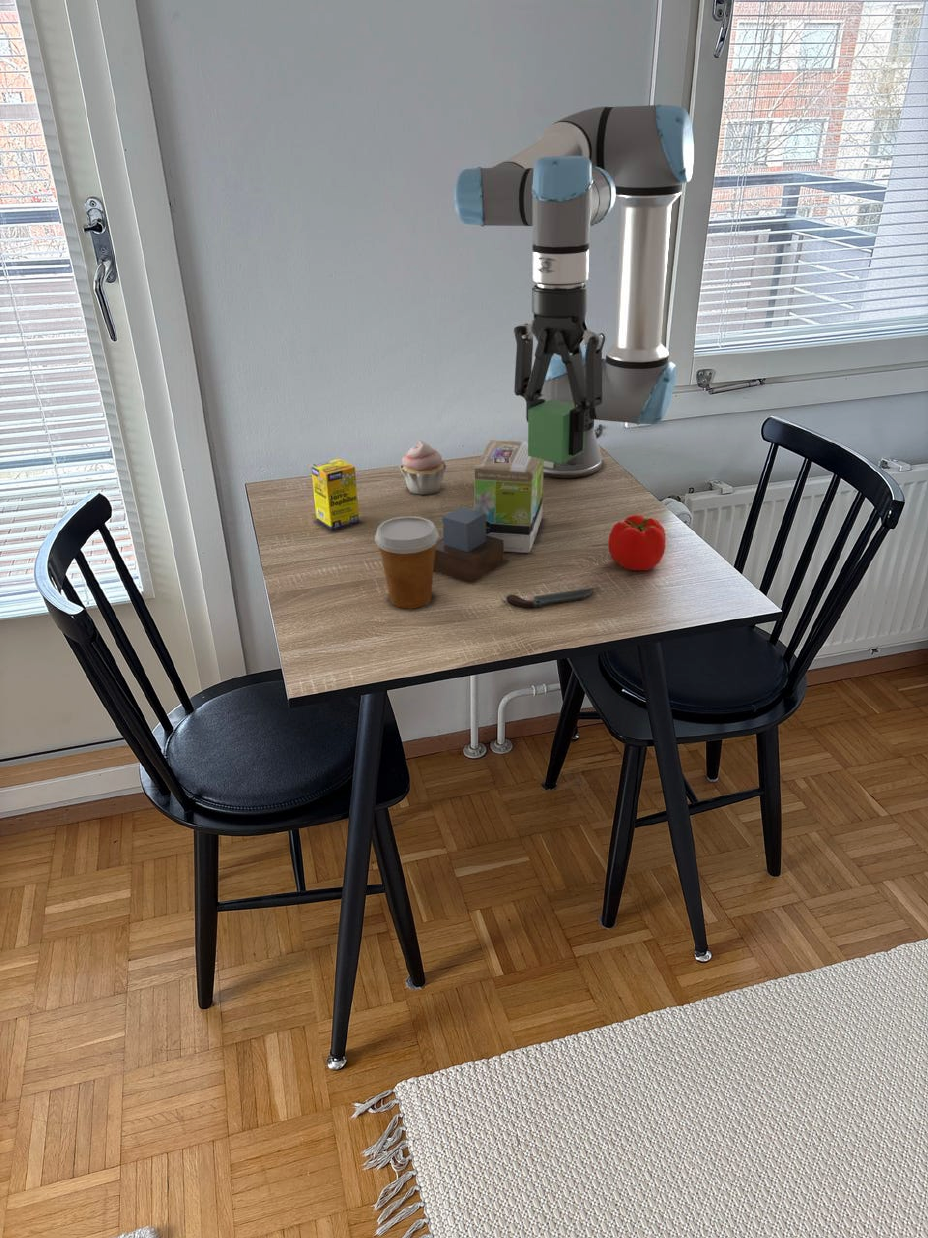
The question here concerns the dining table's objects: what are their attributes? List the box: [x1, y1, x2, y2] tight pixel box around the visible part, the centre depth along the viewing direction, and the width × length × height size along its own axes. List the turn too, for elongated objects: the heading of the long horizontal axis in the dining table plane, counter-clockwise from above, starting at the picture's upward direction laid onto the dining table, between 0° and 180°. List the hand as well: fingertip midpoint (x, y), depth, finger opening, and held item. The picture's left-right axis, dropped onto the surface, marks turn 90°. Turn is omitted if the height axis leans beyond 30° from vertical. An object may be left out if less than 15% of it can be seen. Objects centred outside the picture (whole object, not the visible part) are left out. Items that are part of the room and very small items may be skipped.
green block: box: [527, 399, 585, 463], centre depth 136 cm, size 6×6×7 cm
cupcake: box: [398, 439, 448, 496], centre depth 180 cm, size 9×9×10 cm
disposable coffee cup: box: [374, 515, 439, 609], centre depth 141 cm, size 10×10×12 cm
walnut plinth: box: [433, 535, 505, 584], centre depth 152 cm, size 9×9×4 cm
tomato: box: [607, 514, 667, 571], centre depth 150 cm, size 9×9×8 cm
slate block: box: [441, 506, 486, 552], centre depth 150 cm, size 5×5×5 cm
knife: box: [506, 586, 596, 608], centre depth 142 cm, size 14×4×1 cm, turn 104°
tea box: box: [473, 439, 544, 554], centre depth 159 cm, size 15×10×15 cm, turn 169°
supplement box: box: [310, 458, 360, 532], centre depth 167 cm, size 6×6×11 cm
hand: (556, 448), depth 137 cm, fingers closed on green block, 6 cm apart
